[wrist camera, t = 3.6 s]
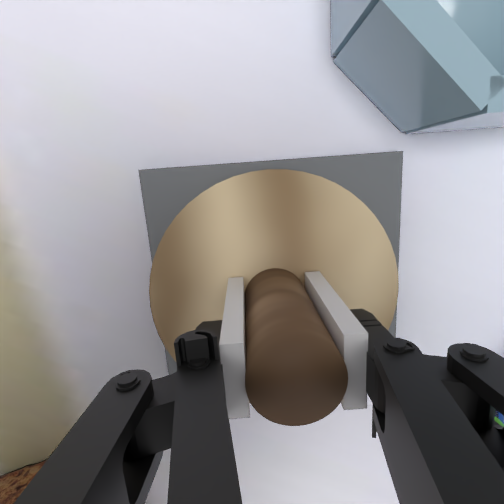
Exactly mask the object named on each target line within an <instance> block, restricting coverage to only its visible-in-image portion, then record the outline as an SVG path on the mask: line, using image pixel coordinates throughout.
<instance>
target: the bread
mask: <svg viewBox="0 0 504 504" xmlns="http://www.w3.org/2000/svg"><path fill="white" fill-rule="evenodd" d="M46 461H47V460H45V461H43V462H41V463H38V464H35V465H29V466H26V467H24V468H22V469H20V470H17V471H14V472H11V473H7V474H5V475H2V476H0V504H13V503H14V502H15V501H16V500H17V498H18V497H19V496H20V494H21V493H22V492H23V491H24V489H25V488H26V487H27V485H28V484H29V483H30V481H31V480H32V479H33V478H34V476H35V475H36V474H37V472H38V471H39V470H40V469H41V467H42V466H43V465H44V463H45V462H46Z"/></svg>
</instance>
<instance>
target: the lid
mask: <svg viewBox="0 0 504 504" xmlns="http://www.w3.org/2000/svg"><path fill="white" fill-rule="evenodd" d="M314 271H320V273H321V274H322V275H323V276H324V278H325V279H326V280H327V281H328V283H329V284H330V285H331V287H332V288H333V289H334V290H335V292H336V293H337V294H338V295H339V297H340V298H341V299H342V301H343V302H344V303H345V304H346V306H347V307H348V308H349V309H364V310H366V311H368V312H370V313H372V314H373V315H374V316H375V317H376V318H377V320H379V322H380V323H381V324H382V326H384V327H385V328H386V329H387V330H389V327H390V325H391V322H392V320H393V317H394V313H395V309H396V305H397V297H398V270H397V264H396V258H395V255H394V251H393V248H392V245H391V242H390V240H389V238H388V236H387V234H386V232H385V230H384V228H383V226H382V225H381V224H380V222H379V221H378V219H377V218H376V216H375V215H374V214H373V213H372V211H371V210H370V209H369V208H368V207H367V206H366V205H365V204H364V203H363V202H362V201H361V200H360V199H358V198H357V197H356V196H355V195H354V194H352V193H351V192H350V191H348V190H346V189H345V188H343V187H342V186H340V185H338V184H337V183H334V182H332V181H330V180H328V179H325V178H323V177H321V176H317V175H314V174H310V173H306V172H302V171H295V170H287V169H267V170H260V171H252V172H248V173H244V174H241V175H237V176H233V177H231V178H229V179H226V180H224V181H222V182H219V183H217V184H215V185H214V186H212V187H210V188H209V189H207V190H205V191H204V192H202V193H201V194H199V195H198V196H197V197H196V198H194V199H193V200H192V201H191V202H189V203H188V204H187V205H186V206H185V207H184V208H183V209H182V210H181V212H180V213H179V214H178V215H177V216H176V217H175V218H174V220H173V221H172V223H171V224H170V225H169V227H168V228H167V230H166V231H165V233H164V235H163V237H162V239H161V241H160V243H159V245H158V248H157V251H156V254H155V256H154V259H153V264H152V269H151V274H150V286H149V295H150V307H151V311H152V316H153V320H154V323H155V326H156V329H157V331H158V334H159V336H160V338H161V340H162V342H163V344H164V346H165V348H166V349H167V351H168V352H169V353H170V355H171V356H172V358H173V359H174V360H175V361H176V356H175V349H174V341H175V339H176V338H177V337H179V336H180V335H181V334H184V333H186V332H189V331H193V330H195V329H196V327H197V326H198V325H199V324H200V323H202V322H203V321H216V320H223V313H224V306H225V299H226V292H227V285H228V278H234V277H243V279H244V292H245V349H246V373H245V388H246V393H247V396H248V399H249V403H251V404H252V406H253V407H254V408H255V410H256V411H257V412H258V413H259V414H261V415H262V416H263V417H265V418H266V419H268V420H270V421H272V422H275V423H278V424H282V425H288V426H300V425H306V424H310V423H313V422H316V421H318V420H320V419H323V418H324V417H326V416H327V415H329V414H330V413H331V412H332V411H334V409H335V408H336V407H337V406H338V405H339V404H340V402H341V401H342V399H343V397H344V395H345V393H346V390H347V385H348V371H347V367H346V364H345V362H344V360H343V358H342V356H341V354H340V352H339V350H338V349H337V347H336V345H335V343H334V341H333V339H332V337H331V336H330V334H329V332H328V330H327V328H326V326H325V325H324V323H323V321H322V319H321V317H320V315H319V313H318V312H317V310H316V308H315V306H314V304H313V302H312V301H311V299H310V297H309V295H308V293H307V291H306V289H305V272H314Z"/></svg>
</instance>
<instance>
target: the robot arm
mask: <svg viewBox="0 0 504 504" xmlns="http://www.w3.org/2000/svg"><path fill="white" fill-rule="evenodd" d="M305 289H306V291H307V293H308V295H309V297H310V299H311V301H312V302H313V304H314V306H315V308H316V310H317V312H318V313H319V315H320V317H321V319H322V321H323V323H324V325H325V326H326V328H327V330H328V332H329V334H330V336H331V337H332V339H333V341H334V343H335V345H336V347H337V349H338V350H339V352H340V354H341V356H342V358H343V360H344V362H345V364H346V367H347V371H348V385H347V390H346V393H345V395H344V397H343V399H342V401H341V404H342V406H343V409H344V410H350V409H363V408H367V393H368V395H369V397H370V399H371V400H372V402H373V414H372V438H376V432H377V433H378V436H379V439H380V442H381V445H382V449H383V452H384V455H385V458H386V461H387V465H388V468H389V471H390V474H391V477H392V481H393V484H394V487H395V490H396V493H397V497H398V500H399V503H400V504H504V427H502V426H501V425H499V424H498V423H497V422H496V421H495V420H494V418H495V411H496V410H497V411H498V412H500V413H501V414H502V415H503V416H504V358H503V357H501V356H500V355H498V354H496V353H495V352H493V351H491V350H489V349H487V348H484V347H481V346H478V345H476V344H470V343H463V344H454V345H451V346H450V347H449V348H448V353H447V357H441V356H431V355H424V354H422V352H421V351H420V350H419V348H418V347H417V346H416V345H415V344H413V343H411V342H409V341H407V340H404V339H400V338H394V337H393V336H392V335H391V333H390V332H389V331H388V330H387V329H386V328H385V327H384V326H382V324H381V323H380V322H379V320H377V318H376V317H375V316H374V315H373V314H372V313H370V312H368V311H366V310H364V309H349V308H348V307H347V306H346V304H345V303H344V302H343V301H342V299H341V298H340V297H339V295H338V294H337V293H336V292H335V290H334V289H333V288H332V287H331V285H330V284H329V283H328V281H327V280H326V279H325V278H324V276H323V275H322V274H321V273H320V271H314V272H305ZM174 349H175V356H176V363H177V371H176V372H175V373H173V374H171V375H168V376H165V377H162V378H159V379H155V380H152V378H151V375H150V373H149V372H147V371H145V370H129V371H126V372H123V373H120V374H119V375H117V376H115V377H113V378H112V379H111V380H110V381H109V382H107V383H106V385H105V386H104V387H103V388H102V390H101V391H100V392H99V394H98V395H97V396H96V398H95V399H94V400H93V401H92V403H91V404H90V405H89V407H88V408H87V409H86V410H85V412H84V413H83V414H82V416H81V417H80V418H79V419H78V421H77V422H76V423H75V425H74V426H73V427H72V429H71V430H70V431H69V432H68V434H67V435H66V436H65V438H64V439H63V440H62V441H61V443H60V444H59V445H58V447H57V448H56V449H55V450H54V452H53V453H52V454H51V456H50V457H49V458H48V460H47V461H46V462H45V463H44V465H43V466H42V467H41V469H40V470H39V471H38V472H37V474H36V475H35V476H34V478H33V479H32V480H31V481H30V483H29V484H28V485H27V487H26V488H25V489H24V491H23V492H22V493H21V494H20V496H19V497H18V498H17V500H16V501H15V502H14V503H13V504H144V503H145V501H146V498H147V495H148V493H149V490H150V488H151V485H152V482H153V480H154V477H155V474H156V472H157V469H158V466H159V464H160V461H161V458H162V455H163V451H164V450H167V449H169V448H171V460H170V474H169V488H168V503H167V504H242V499H241V493H240V487H239V481H238V474H237V468H236V462H235V455H234V449H233V443H232V437H231V430H230V424H229V419H237V418H249V417H250V410H249V399H248V396H247V393H246V388H245V373H246V349H245V292H244V279H243V277H234V278H228V285H227V292H226V299H225V306H224V313H223V320H216V321H203V322H202V323H200V324H199V325H198V326H197V327H196V329H195V330H193V331H189V332H186V333H184V334H181V335H180V336H179V337H177V338H176V339H175V341H174Z"/></svg>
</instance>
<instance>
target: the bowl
mask: <svg viewBox="0 0 504 504" xmlns="http://www.w3.org/2000/svg"><path fill="white" fill-rule="evenodd" d="M330 2H331V57H334V56H337V57H336V58H335V59H334V61H333V62H334V63H335V64H336V65H337V66H338V67H339V68H340V69H341V70H342V71H343V72H344V74H345V75H346V76H347V77H348V78H349V79H350V80H351V81H352V82H353V83H354V84H355V85H356V86H357V87H358V88H359V89H360V90H361V91H362V92H363V93H364V94H365V95H366V96H367V97H368V98H369V99H370V100H371V101H372V102H373V103H374V104H375V105H376V107H377V108H378V109H379V110H380V111H381V112H382V113H383V114H384V115H385V116H386V117H387V118H388V119H389V120H390V121H391V122H392V123H393V124H394V125H395V126H396V127H397V128H398V129H399V130H400V131H401V132H405V131H406V134H413V133H427V132H441V131H455V130H469V129H483V128H497V127H504V0H330Z"/></svg>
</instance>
